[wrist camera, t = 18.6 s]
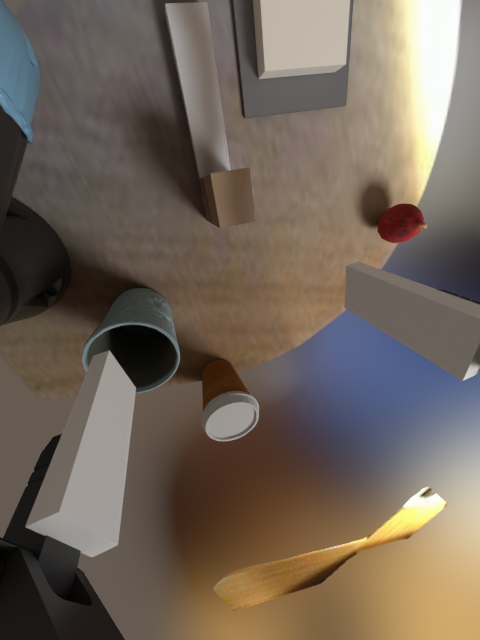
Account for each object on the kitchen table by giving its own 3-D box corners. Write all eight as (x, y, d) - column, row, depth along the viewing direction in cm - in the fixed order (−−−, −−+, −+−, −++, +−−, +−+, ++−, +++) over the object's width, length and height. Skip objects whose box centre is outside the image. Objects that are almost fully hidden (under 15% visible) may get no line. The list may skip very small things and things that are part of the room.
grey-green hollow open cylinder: (178, 287, 35) (184, 324, 25) (173, 342, 40) (176, 392, 30) (104, 280, 32) (75, 319, 22) (107, 341, 36) (84, 397, 26)
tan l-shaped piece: (207, 220, 32) (220, 228, 25) (165, 14, 23) (164, -79, 15) (234, 215, 33) (255, 221, 25) (204, 12, 23) (223, -77, 16)
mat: (244, 118, 28) (245, 117, 28) (223, -81, 21) (224, -86, 21) (344, 106, 30) (346, 105, 30) (356, -77, 23) (358, -81, 23)
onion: (367, 244, 41) (406, 253, 35) (365, 211, 38) (408, 215, 32) (395, 230, 42) (439, 237, 35) (395, 197, 39) (444, 197, 32)
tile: (264, 71, 25) (254, -94, 19) (258, 79, 26) (246, -69, 21) (346, 64, 26) (355, -89, 21) (334, 72, 28) (340, -67, 23)
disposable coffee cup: (229, 344, 43) (249, 389, 33) (247, 375, 48) (269, 423, 38) (184, 367, 43) (190, 421, 33) (207, 397, 48) (218, 451, 38)
